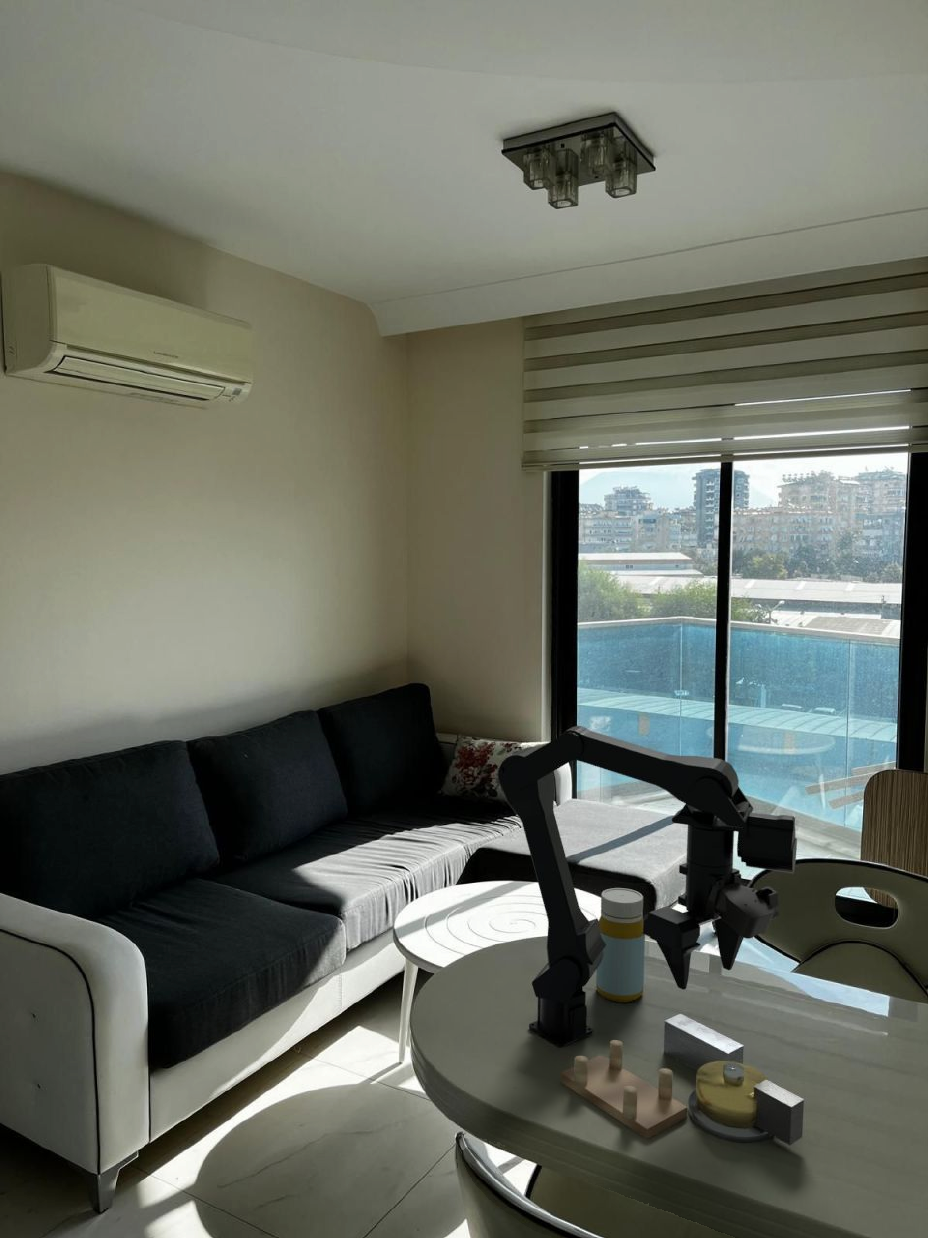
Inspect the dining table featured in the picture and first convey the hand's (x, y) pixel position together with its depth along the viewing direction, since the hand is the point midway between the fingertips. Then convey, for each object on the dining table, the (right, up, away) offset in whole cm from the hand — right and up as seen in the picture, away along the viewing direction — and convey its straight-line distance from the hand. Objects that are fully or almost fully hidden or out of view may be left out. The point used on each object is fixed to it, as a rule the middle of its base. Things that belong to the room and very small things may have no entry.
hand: (705, 978), depth 119 cm
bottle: (-8, -10, +20) cm, 24 cm away
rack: (-12, -12, -7) cm, 18 cm away
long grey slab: (0, -12, +1) cm, 12 cm away
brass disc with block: (+2, -11, -12) cm, 16 cm away
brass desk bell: (+1, -12, -10) cm, 16 cm away
